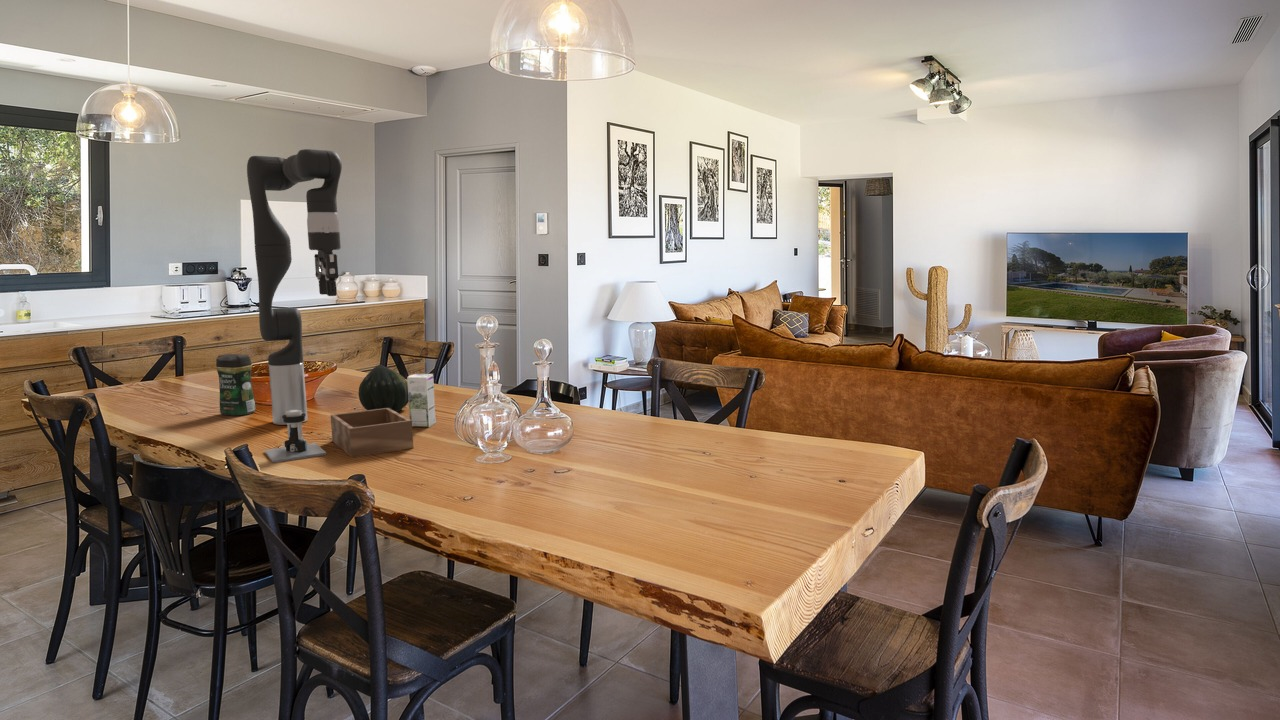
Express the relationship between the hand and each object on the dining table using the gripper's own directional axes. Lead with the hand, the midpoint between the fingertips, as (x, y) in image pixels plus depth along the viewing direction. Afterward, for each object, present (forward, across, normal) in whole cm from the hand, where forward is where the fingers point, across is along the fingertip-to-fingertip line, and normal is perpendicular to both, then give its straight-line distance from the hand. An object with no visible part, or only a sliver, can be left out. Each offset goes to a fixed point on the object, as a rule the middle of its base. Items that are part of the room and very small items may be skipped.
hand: (328, 295), depth 202 cm
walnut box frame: (+38, +10, +6) cm, 40 cm away
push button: (+38, +7, -12) cm, 40 cm away
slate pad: (+38, +8, -12) cm, 41 cm away
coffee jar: (+38, -55, -17) cm, 69 cm away
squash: (+38, -31, +21) cm, 54 cm away
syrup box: (+38, -4, +24) cm, 45 cm away
